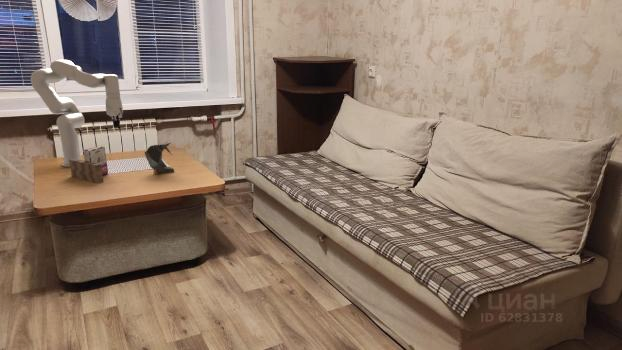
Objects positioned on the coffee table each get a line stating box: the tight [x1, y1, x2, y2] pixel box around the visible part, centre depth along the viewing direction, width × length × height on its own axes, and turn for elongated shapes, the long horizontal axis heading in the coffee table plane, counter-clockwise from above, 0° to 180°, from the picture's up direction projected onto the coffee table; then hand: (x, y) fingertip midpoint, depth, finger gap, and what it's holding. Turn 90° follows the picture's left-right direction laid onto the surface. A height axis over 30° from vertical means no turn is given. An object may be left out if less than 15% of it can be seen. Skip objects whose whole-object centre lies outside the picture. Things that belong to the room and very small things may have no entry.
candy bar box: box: [83, 145, 109, 177], centre depth 252 cm, size 11×5×16 cm, turn 159°
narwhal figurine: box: [144, 142, 175, 175], centre depth 260 cm, size 14×15×18 cm
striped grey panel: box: [69, 159, 104, 184], centre depth 247 cm, size 24×3×10 cm, turn 60°
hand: (116, 126), depth 266 cm, fingers closed
